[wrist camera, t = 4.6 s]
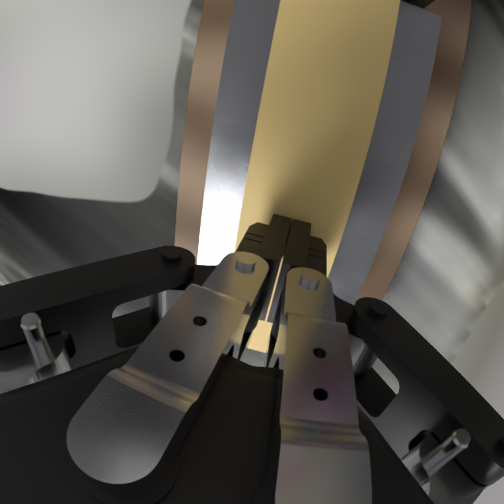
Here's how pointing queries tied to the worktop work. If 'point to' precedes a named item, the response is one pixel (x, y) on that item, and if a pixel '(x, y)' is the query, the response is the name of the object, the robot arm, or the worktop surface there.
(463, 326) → the worktop surface
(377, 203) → the block
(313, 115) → the strip
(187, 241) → the walnut board
